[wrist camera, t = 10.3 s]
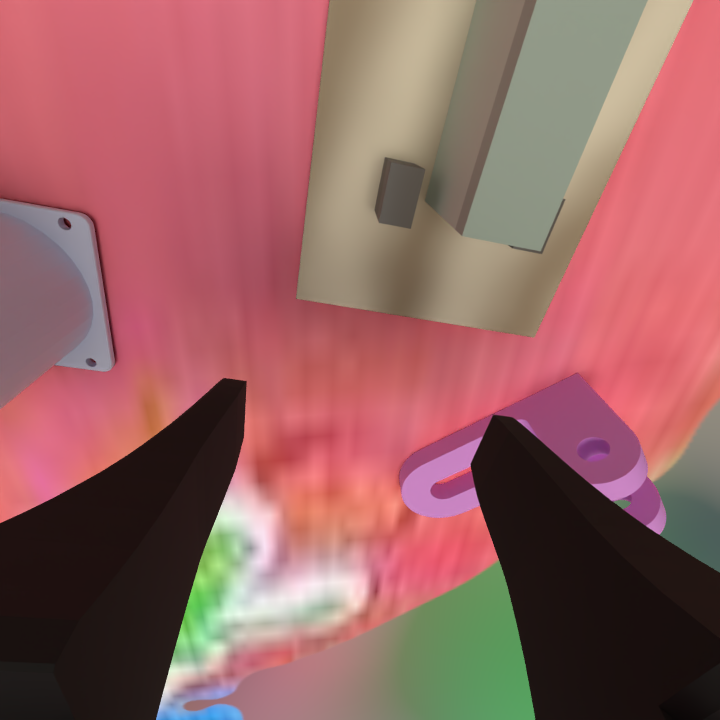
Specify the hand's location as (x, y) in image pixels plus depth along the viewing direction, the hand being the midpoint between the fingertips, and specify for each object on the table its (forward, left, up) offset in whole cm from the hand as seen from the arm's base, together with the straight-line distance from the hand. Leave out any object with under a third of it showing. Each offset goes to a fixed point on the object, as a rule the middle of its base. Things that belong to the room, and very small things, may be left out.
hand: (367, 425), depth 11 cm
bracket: (+10, -9, -10) cm, 17 cm away
